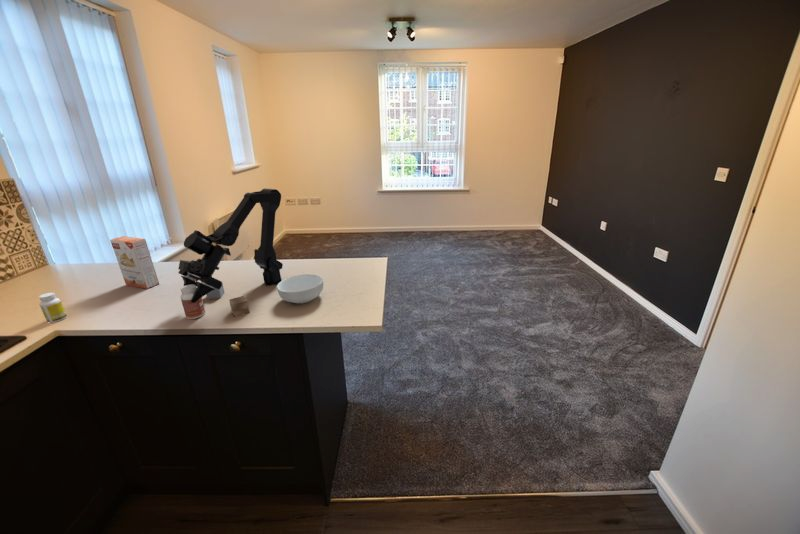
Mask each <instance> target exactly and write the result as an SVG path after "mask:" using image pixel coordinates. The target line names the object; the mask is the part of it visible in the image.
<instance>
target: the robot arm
mask: <svg viewBox="0 0 800 534" xmlns="http://www.w3.org/2000/svg"><path fill="white" fill-rule="evenodd" d="M281 201H282V193H281V192H280V191H279V190H277V189H275V188H262V189H261V190H259V191H253V192H246V193H244V194H243V198H242V199H241V201H240V202H239V204H238V205H237V206H236V208H235V209H234V211H233V212H232V214H231V215H230V216H229V218H228V219H227V221H225V222H224V223H222V224H220V225H219V226H218V227H217V228H216V229H215V230H214V231H213V233H211V234H207V235H205V234H203V233H202V232H201V231H200V230H193V232H192V233H190V234H189V235H188V236H186V238H184V242H183V247H185V248H187V249H188V250H189V251H192V252H193V253H195V254H197V255H200V256H201V255H203V256H202V257H201V258H198V259H196V260H193V259H192V260H184V259H179V264H178V268H177V269H178V274H179V275H180V277H181V278H182V281H183V286H186V285H192V284H193V285H196V291H195V293H194V295H193V297H192V300H191V302H192V303H195V302H196V301H197V300H199V299H200V298H202V299H203V297H205V296H207V295H206V294H207V293H209V292H211V291H212V290H215V289H213V288H216V289H219V290H220V289H221V287H222V283H223V281H221V280H219V279H218V278H215V277H213V274H214V273H215V272H216V270H217V271H219V269H220V266H219V264H220V263H221V261H222V259H223V258H224V256H225V255H226V256H228V257H229V256H230V257H231V256H232V254H231V252H230V248H229V247H231V246H232V247H233V246H234V244H235V243H236V241H237V239H238V238H239V235H240V229H241V227H242V225H243V224H244V222H245V220H246V219H247V218H248V216H249V215H250V213H251V212H252V211H253V210H254V207H255V206H256V205H257V204H259V206H260V207H261V210H262V218H261V219H262V220H261V231H260V245H259V246H258V248H257V249H256V248H255V249H254V250H253V252H254V255H253V256H254V257H253V259H254V263H255V264H256V265H257V266H258V267H259V268H260V269H262V270H263V272H262V277H263V281H264V282H263V283H265V286H272V285H278V284H279V283H280V282H281V281H282V280H283V279H282V276H281V270H282V269H283V266H284V265H283V263H282V262H281V261H279V260H278V259H277V253H276V250H275V248H274V240H275V238H274V237H275V227H276V226H275V225H276V213H277V210H278V209H279V207H280V205H281ZM214 244H216V245H214ZM223 246H226V247H223ZM199 281H200V282H199Z"/></svg>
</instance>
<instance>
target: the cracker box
mask: <svg viewBox="0 0 800 534" xmlns="http://www.w3.org/2000/svg"><path fill="white" fill-rule="evenodd" d="M109 240H110V244H111V246H112V249H113V252H114V256H115V258H116V261H117V263H118V266H119V269H120V272H121V274H122V278H123V281H124V283H125V285H127V286H131V287H136V288H141V289H145V290H148V289H150V287H151V288H153V287H155V286H157V285H159V284H160V281H159V279H158V275H157V272H156V270H155V267H154V263H153V260H152V256H151V253H150V250H149V246H148V243H147V241H146V239H145V238H141V237H133V236H124V235H123V236H120V237H116V238H115V237H114V238H112V239H109Z"/></svg>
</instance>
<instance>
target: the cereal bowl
mask: <svg viewBox="0 0 800 534" xmlns="http://www.w3.org/2000/svg"><path fill="white" fill-rule="evenodd" d="M276 289H277V292H278V295H279V297H280V298H281V299H282V300H283V301H285V302H288V303H295V304H299V303H300V304H307V303H309V302H311V301H313V299H316V298H317V297H319V296H320V295H321V293H322V292H323V290H324V279H323V277H322V276H320V275H317V274H313V273H304V274H296V275H292V276H289V277H286V278H285V279H282V281H281V282H280V283H279V284H276Z"/></svg>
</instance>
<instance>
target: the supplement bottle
mask: <svg viewBox="0 0 800 534" xmlns="http://www.w3.org/2000/svg"><path fill="white" fill-rule="evenodd" d="M38 297H39V300H40V303H39V307H40V309H41V312H42V314H43V316H44V318H45V321H46V322H47V323H48V322H54V323H58V322H62V321H63V320H66V318H67V317H68V315H67V313H66V310H65V308H64V306H63V303H62V301H61V299H60V298H58V297H57V296H56V294H55V292H47V293H46V292H45V293H44V294H43V293H42V294H40V295H39V296H38Z"/></svg>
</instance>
